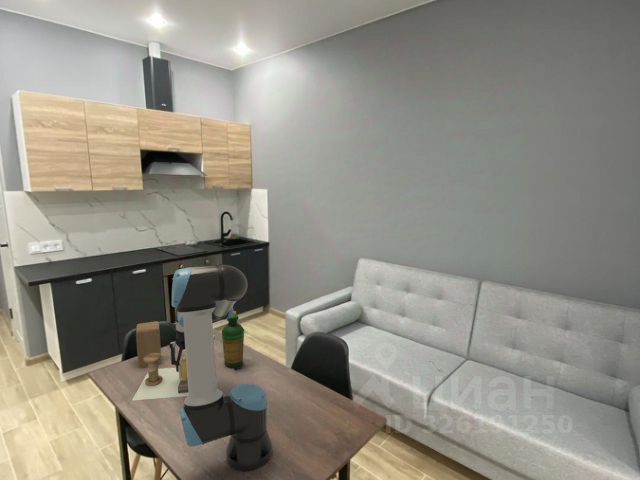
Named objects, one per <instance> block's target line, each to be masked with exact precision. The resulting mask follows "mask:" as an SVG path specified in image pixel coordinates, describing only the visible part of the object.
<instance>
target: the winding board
mask: <svg viewBox="0 0 640 480" xmlns="http://www.w3.org/2000/svg"><path fill="white" fill-rule="evenodd" d="M158 374H159V375H160V376H162V378H163V381H162V382H161V383H160V384H158V385H155V386H147V385H146V384H145V380H146V379H147V378H149V375H148V372H147V373H146V375H145V376H144V379H143V380H142V382H141V383H140V385H139V387H138V389H137V390H136V392H135V394H134V396H133V398H132V402H133V401H144V400H155V399H167V398H168V399H169V398H180V397H187V396H188V394H189V391H188V392H187V393H178V385H179V383H180V380H182V378H181V379H180V380H179V372H177V371H176V367H164V368H158Z"/></svg>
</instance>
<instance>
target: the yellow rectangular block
mask: <svg viewBox="0 0 640 480" xmlns="http://www.w3.org/2000/svg"><path fill="white" fill-rule="evenodd" d="M180 363H181V371H182V380H188V378H187V364H186V356H184V357H181V360H180Z"/></svg>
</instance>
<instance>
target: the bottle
mask: <svg viewBox="0 0 640 480" xmlns="http://www.w3.org/2000/svg"><path fill="white" fill-rule="evenodd" d="M238 320H239V315H238V313H237V311H236V310H233V316H232V318H228V319H226V321H227V323H228V324H226V325H224V327H223V328H222V329H221V339H222V341H221V342H222V350H223V362H224V365H225V367H226V368H228V369H233V370H237V369H239V368H240V369H241V367H242V366H243V364H244V343H245V342H244V341H245V340H244V339H245V328H244V327H243V326H242V325H241V324H240V323H238Z"/></svg>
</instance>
